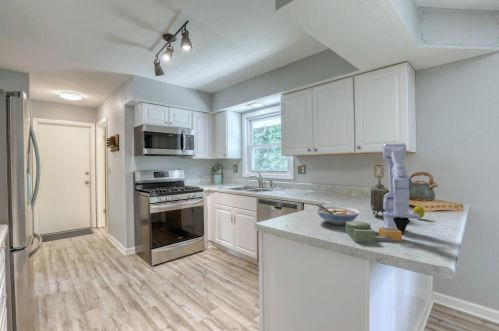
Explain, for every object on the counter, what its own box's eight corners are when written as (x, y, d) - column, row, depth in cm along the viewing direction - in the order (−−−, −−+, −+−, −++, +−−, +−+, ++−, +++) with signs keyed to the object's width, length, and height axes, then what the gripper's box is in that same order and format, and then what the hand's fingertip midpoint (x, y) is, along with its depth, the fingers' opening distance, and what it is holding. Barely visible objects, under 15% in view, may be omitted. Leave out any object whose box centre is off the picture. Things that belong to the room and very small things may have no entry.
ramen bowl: (368, 229, 122) (368, 213, 121) (322, 229, 122) (322, 213, 122) (349, 218, 147) (349, 204, 146) (311, 217, 147) (311, 204, 147)
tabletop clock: (370, 213, 160) (370, 175, 160) (386, 214, 157) (386, 176, 156) (373, 218, 147) (373, 177, 146) (390, 219, 143) (390, 177, 143)
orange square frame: (378, 236, 112) (379, 227, 111) (394, 236, 111) (395, 227, 111) (384, 240, 106) (384, 231, 105) (401, 240, 105) (401, 231, 105)
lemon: (419, 217, 147) (419, 204, 147) (426, 220, 142) (426, 206, 142) (410, 217, 147) (411, 204, 147) (417, 220, 142) (417, 206, 141)
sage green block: (342, 231, 118) (342, 219, 118) (380, 233, 116) (380, 220, 116) (351, 242, 103) (351, 228, 103) (395, 243, 101) (395, 229, 101)
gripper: (388, 205, 104) (387, 236, 105) (424, 206, 103) (423, 237, 103) (381, 202, 111) (380, 231, 112) (414, 203, 110) (414, 232, 110)
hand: (400, 234), depth 108 cm, fingers closed
